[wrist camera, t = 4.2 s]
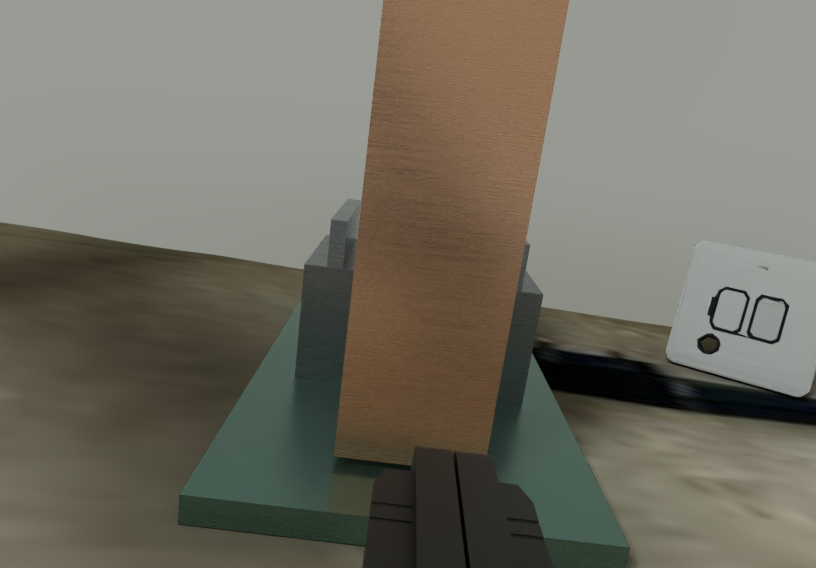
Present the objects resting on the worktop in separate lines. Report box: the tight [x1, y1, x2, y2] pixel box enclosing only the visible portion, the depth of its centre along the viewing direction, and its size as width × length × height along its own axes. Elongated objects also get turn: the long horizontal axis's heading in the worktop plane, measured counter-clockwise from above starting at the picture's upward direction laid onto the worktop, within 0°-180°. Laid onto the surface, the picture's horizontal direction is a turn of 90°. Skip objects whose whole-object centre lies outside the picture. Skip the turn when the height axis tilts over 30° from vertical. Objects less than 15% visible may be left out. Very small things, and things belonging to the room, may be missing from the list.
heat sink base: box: [178, 199, 630, 568], centre depth 34 cm, size 16×28×13 cm, turn 179°
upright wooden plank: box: [334, 0, 569, 466], centre depth 28 cm, size 6×12×18 cm, turn 0°
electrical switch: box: [666, 241, 816, 397], centre depth 45 cm, size 9×5×9 cm, turn 59°
